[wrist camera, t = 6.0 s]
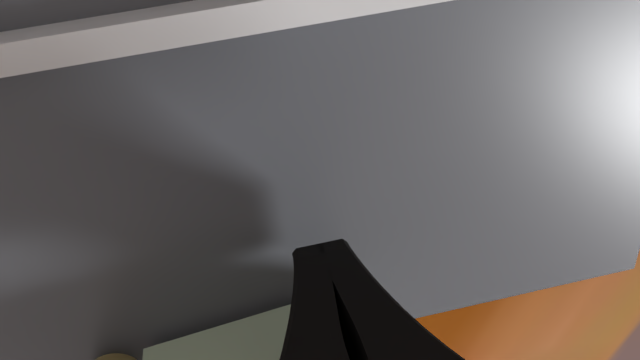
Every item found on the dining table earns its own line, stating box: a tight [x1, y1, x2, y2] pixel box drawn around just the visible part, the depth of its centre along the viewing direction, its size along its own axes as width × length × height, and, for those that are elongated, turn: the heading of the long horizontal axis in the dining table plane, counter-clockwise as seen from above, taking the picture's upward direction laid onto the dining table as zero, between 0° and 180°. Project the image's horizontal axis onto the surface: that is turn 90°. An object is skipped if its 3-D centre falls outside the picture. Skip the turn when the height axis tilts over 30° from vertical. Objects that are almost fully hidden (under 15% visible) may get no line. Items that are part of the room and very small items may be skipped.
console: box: [0, 0, 640, 360], centre depth 12 cm, size 16×22×2 cm
